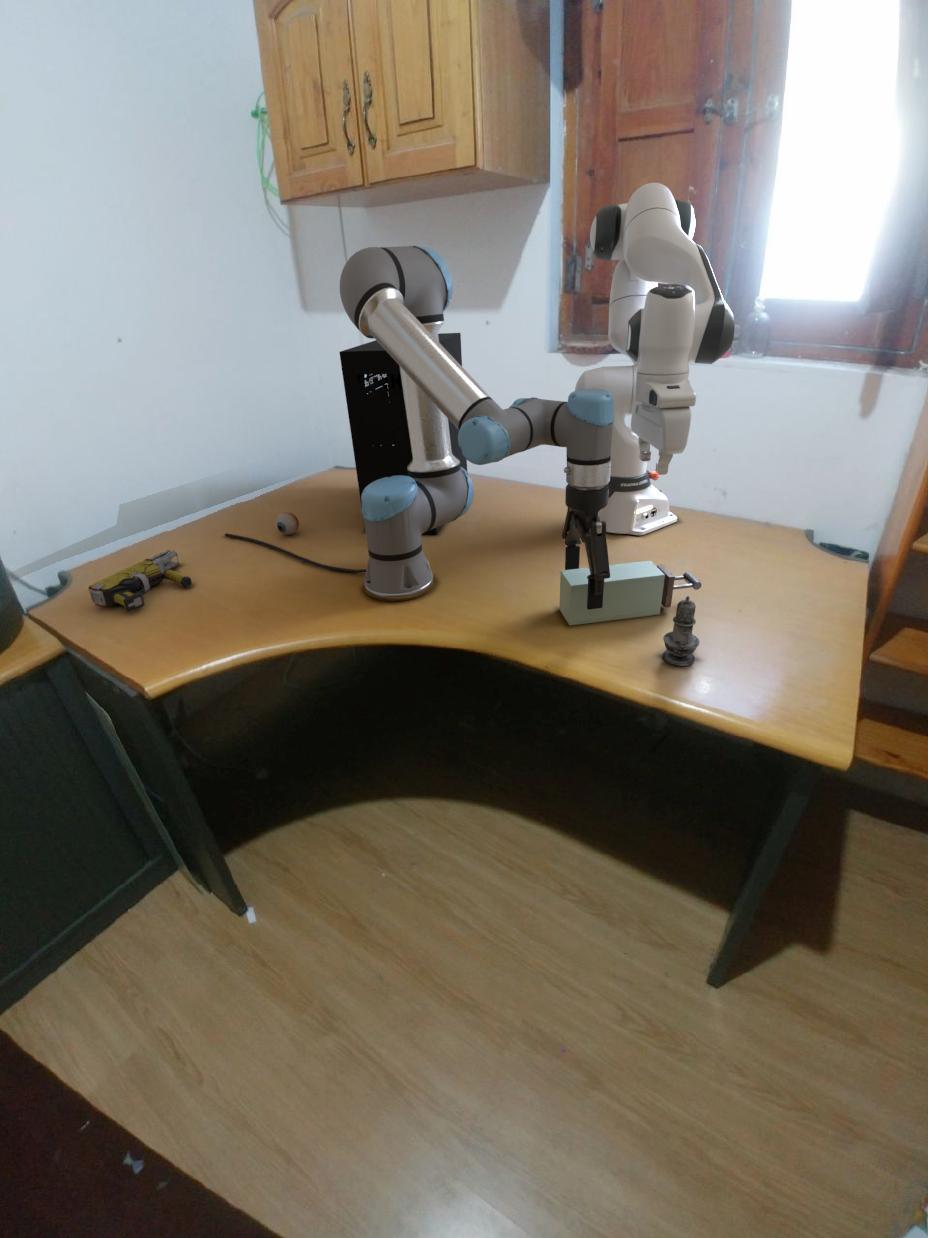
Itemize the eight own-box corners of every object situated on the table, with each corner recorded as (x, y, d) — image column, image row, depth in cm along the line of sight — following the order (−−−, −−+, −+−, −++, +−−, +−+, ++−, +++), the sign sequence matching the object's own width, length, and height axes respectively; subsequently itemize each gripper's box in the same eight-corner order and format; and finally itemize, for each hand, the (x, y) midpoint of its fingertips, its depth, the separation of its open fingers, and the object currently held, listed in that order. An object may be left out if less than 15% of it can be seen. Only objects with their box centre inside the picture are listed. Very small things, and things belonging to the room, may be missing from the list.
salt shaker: (698, 668, 101) (709, 605, 95) (662, 665, 103) (670, 603, 97) (694, 649, 106) (704, 588, 100) (659, 647, 108) (667, 587, 102)
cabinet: (645, 598, 124) (650, 560, 119) (659, 614, 118) (665, 574, 114) (559, 609, 122) (560, 570, 117) (569, 625, 116) (571, 585, 112)
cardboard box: (436, 534, 159) (422, 349, 137) (364, 531, 164) (339, 351, 141) (468, 489, 191) (460, 332, 168) (407, 487, 195) (391, 335, 173)
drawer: (686, 591, 124) (691, 561, 120) (699, 603, 119) (705, 572, 115) (577, 604, 121) (578, 574, 118) (586, 617, 116) (588, 586, 113)
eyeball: (273, 537, 164) (268, 516, 161) (287, 528, 169) (282, 508, 166) (291, 539, 161) (286, 518, 158) (305, 530, 166) (301, 510, 163)
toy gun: (215, 558, 145) (165, 547, 149) (137, 600, 125) (81, 586, 129) (218, 575, 148) (168, 564, 152) (142, 619, 128) (87, 605, 131)
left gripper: (547, 467, 116) (546, 567, 127) (590, 509, 95) (584, 625, 105) (584, 463, 117) (580, 563, 127) (636, 504, 95) (626, 620, 106)
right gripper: (626, 382, 116) (620, 454, 123) (662, 399, 98) (653, 483, 105) (658, 380, 116) (651, 452, 123) (700, 397, 98) (689, 480, 105)
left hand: (582, 591), depth 116 cm, fingers open, 13 cm apart
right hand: (652, 466), depth 114 cm, fingers open, 8 cm apart
